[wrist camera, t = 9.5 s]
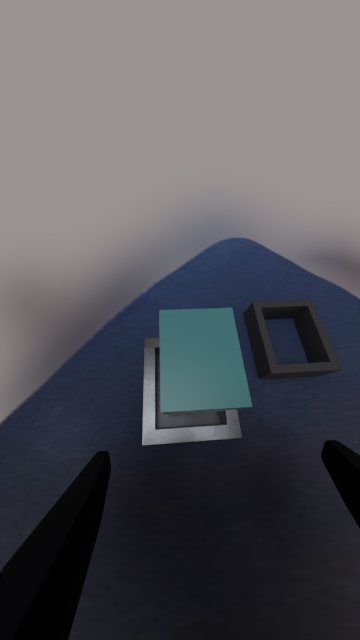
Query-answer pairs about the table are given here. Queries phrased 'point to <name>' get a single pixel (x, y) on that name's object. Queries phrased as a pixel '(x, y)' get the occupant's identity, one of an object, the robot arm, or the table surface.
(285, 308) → the frame
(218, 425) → the port
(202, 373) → the plug
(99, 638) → the table surface
